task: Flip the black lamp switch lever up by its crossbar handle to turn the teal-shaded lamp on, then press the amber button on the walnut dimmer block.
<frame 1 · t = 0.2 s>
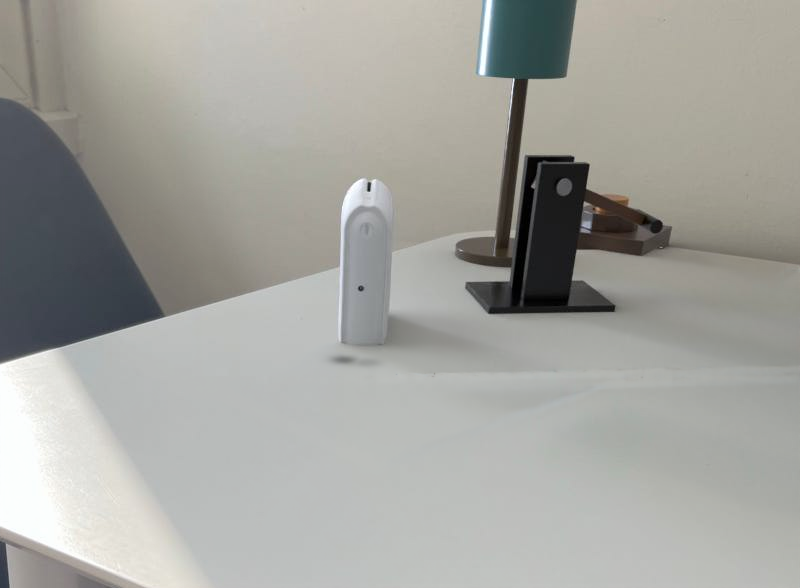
switch lever: (596, 200, 90), point 9 cm above the table, hinge at -20.0°
lamp button: (611, 205, 114), point 4 cm above the table, slide at 0.1 cm
switch bracket: (536, 305, 95), on the table
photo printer: (362, 337, 87), on the table
lamp: (499, 261, 110), on the table
dimmer block: (604, 246, 117), on the table
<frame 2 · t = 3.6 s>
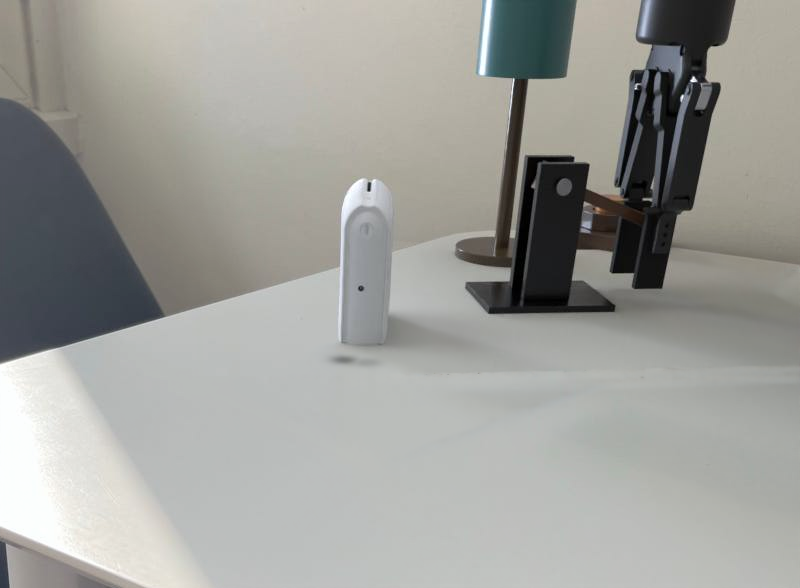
hand: (635, 279, 95), 2 cm above the table, tool pointing down, fingers closed on switch lever, 5 cm apart
switch lever: (597, 200, 90), point 9 cm above the table, hinge at -20.0°, touching gripper
everything else where it was.
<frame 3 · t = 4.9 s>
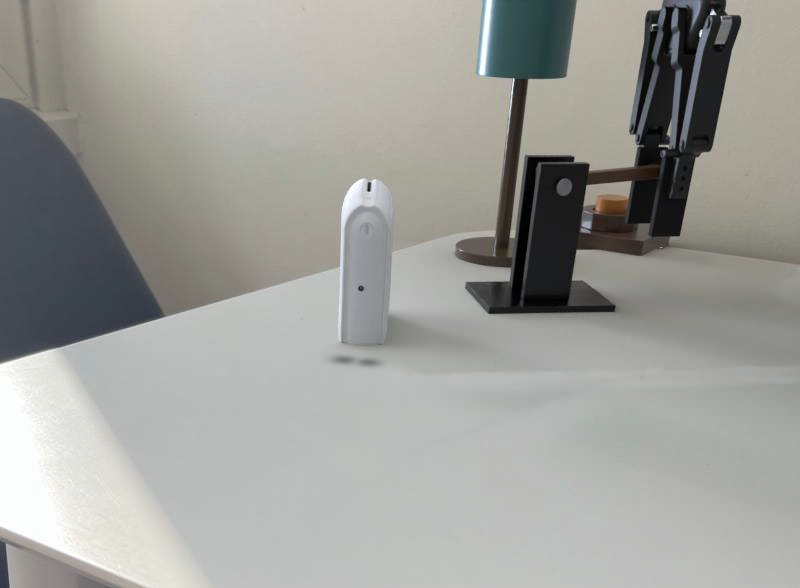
hand: (651, 228, 92), 7 cm above the table, tool pointing down, fingers closed on switch lever, 5 cm apart
switch lever: (603, 176, 89), point 11 cm above the table, hinge at 4.9°, touching gripper
everything else where it was.
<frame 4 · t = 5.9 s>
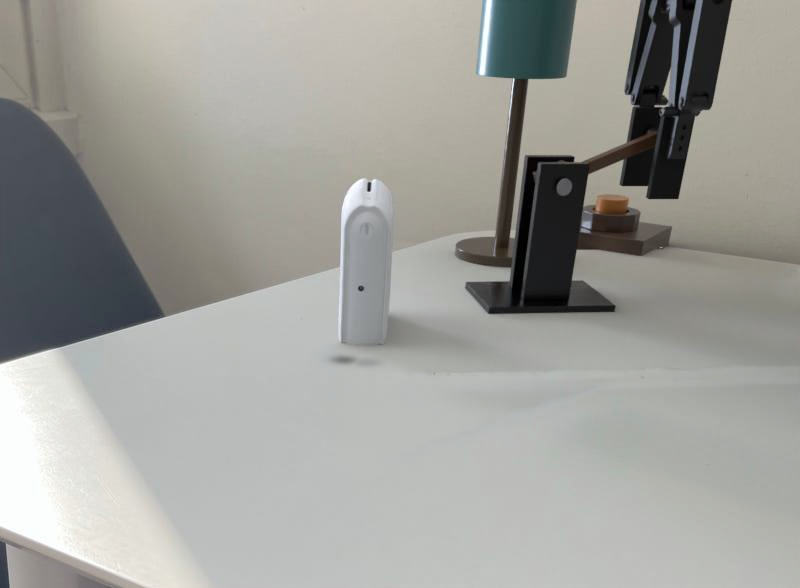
hand: (648, 191, 90), 10 cm above the table, tool pointing down, fingers open, 6 cm apart
switch lever: (602, 160, 89), point 13 cm above the table, hinge at 21.7°
everything else where it was.
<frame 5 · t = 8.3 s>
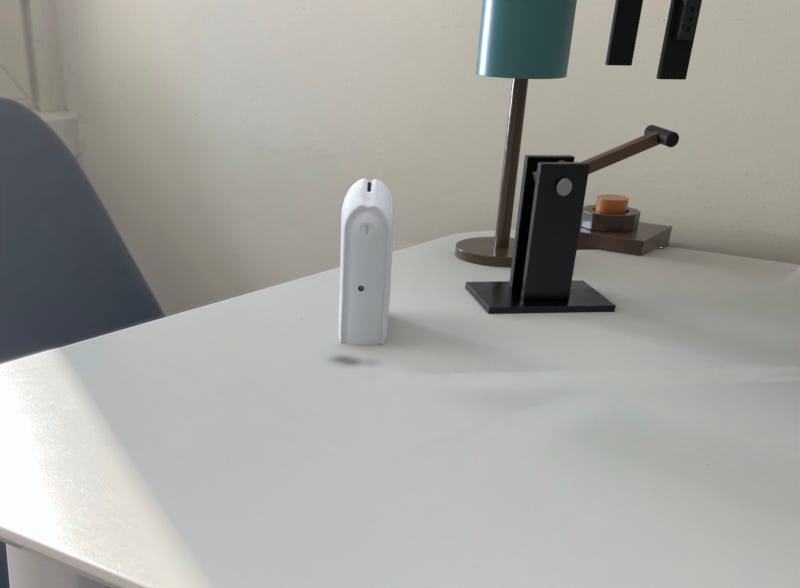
hand: (643, 72, 102), 18 cm above the table, tool pointing down, fingers open, 13 cm apart
nothing on the table moved.
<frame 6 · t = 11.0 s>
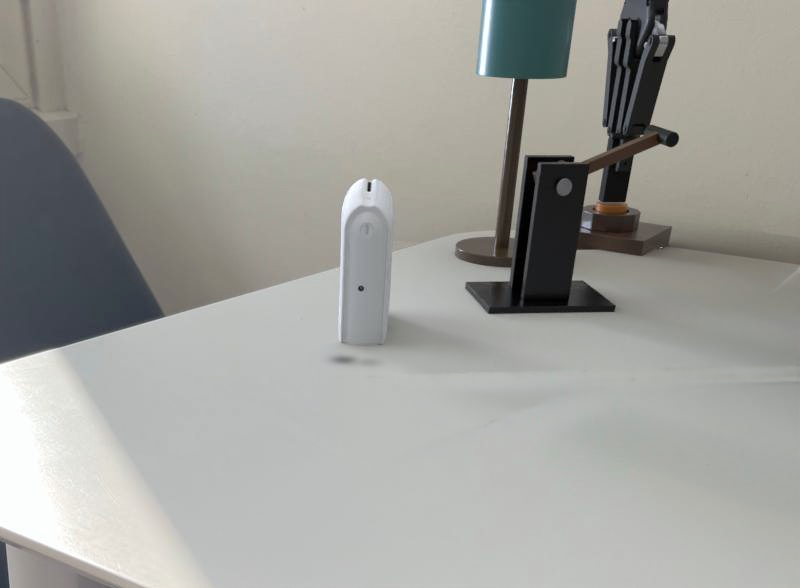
hand: (611, 200, 114), 5 cm above the table, tool pointing down, fingers closed
lamp button: (610, 211, 115), point 4 cm above the table, slide at -0.6 cm, touching gripper
everything else where it was.
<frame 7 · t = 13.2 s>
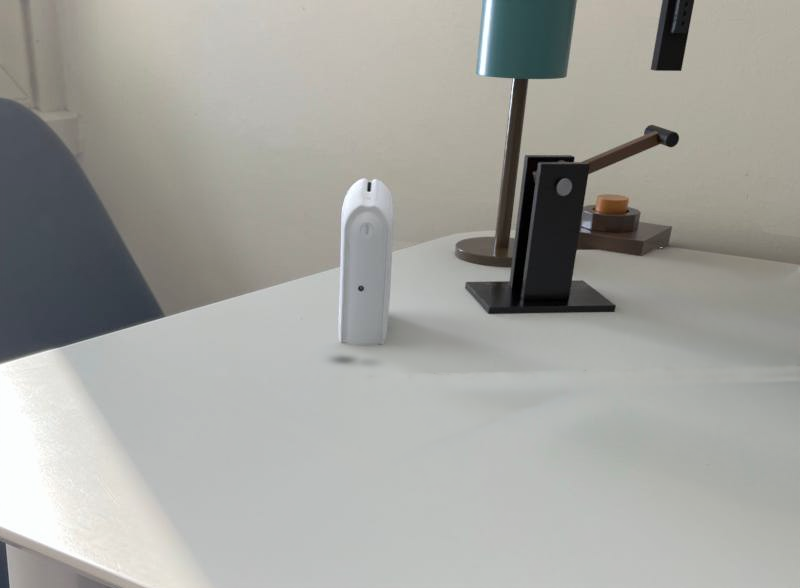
hand: (665, 70, 103), 18 cm above the table, tool pointing down, fingers closed
lamp button: (611, 205, 114), point 4 cm above the table, slide at 0.1 cm
everything else where it was.
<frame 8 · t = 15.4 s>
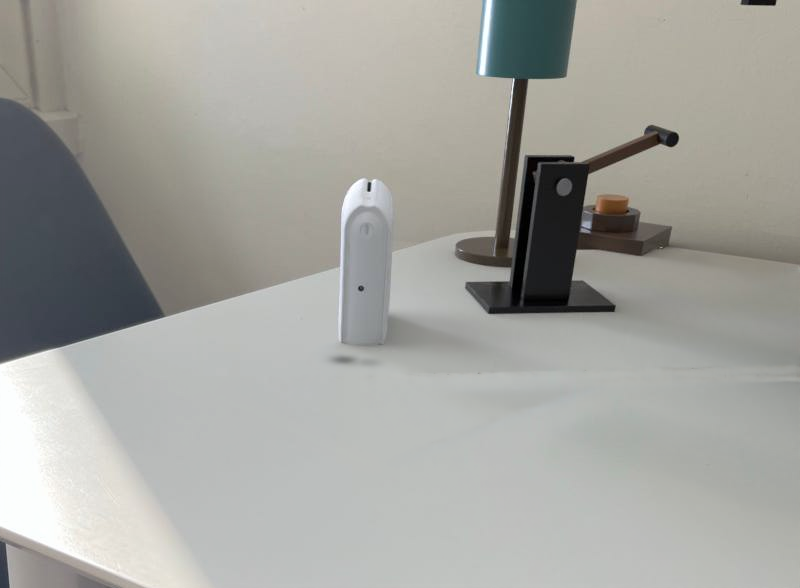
hand: (757, 5, 92), 24 cm above the table, tool pointing down, fingers closed
nothing on the table moved.
at the end: switch lever at +22° (first picture: -20°); lamp button pushed in 1.0 cm at the most during the clip, back to where it started at the end; lamp button slide at 0.1 cm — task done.
